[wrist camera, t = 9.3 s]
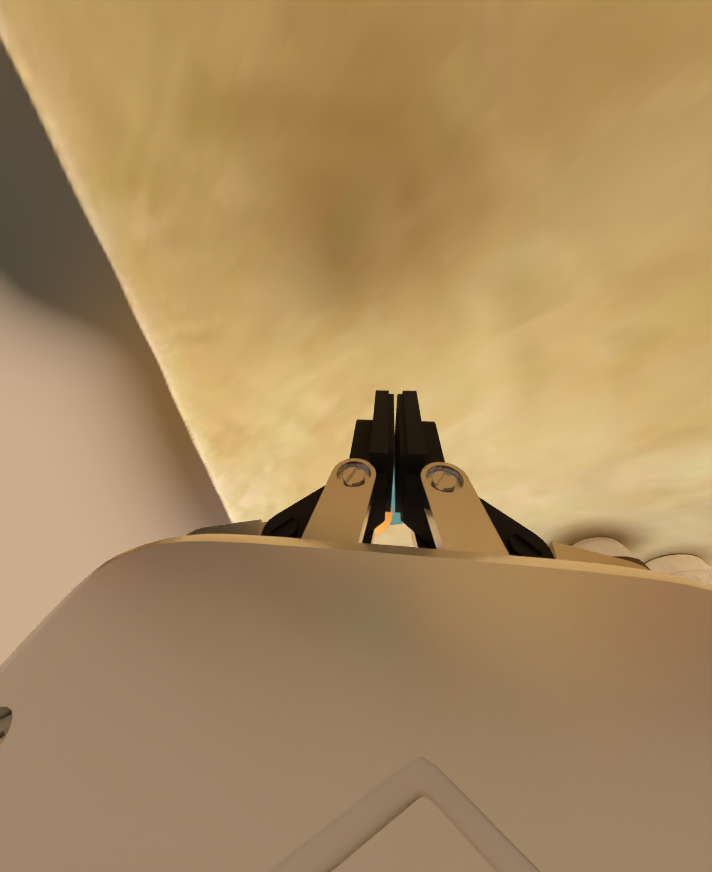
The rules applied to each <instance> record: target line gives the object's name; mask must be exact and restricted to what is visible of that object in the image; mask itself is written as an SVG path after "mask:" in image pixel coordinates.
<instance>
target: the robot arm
mask: <svg viewBox="0 0 712 872" xmlns="http://www.w3.org/2000/svg"><path fill="white" fill-rule="evenodd" d="M393 474H394V483H395V513H400V517H401V522H403V523H405V524H406V525H407V526H408V527H409V528H410V529H411V537H412V541H413V545H414V547H404V546H392V545H379V544H373V541H374V536H375V528H377V527H378V526H379V525H380V524H382V523H383V522H384V521H385V512H391V501H392V487H393ZM0 872H712V586H711V585H707V584H704V583H700V582H697V581H693V580H689V579H686V578H682V577H678V576H673V575H669V574H664V573H659V572H654V571H651V570H649V569H647V568H646V567H644V566H642V565H639V564H636V563H634V562H631V561H627V560H623V559H620V558H616V557H612V556H608V555H604V554H600V553H597V552H593V551H589V550H585V549H581V548H577V547H573V546H570V545H566V544H562V543H558V542H554V541H552V542H551V543H550V544H547V543H545V542H544V541H543V540H542V539H541V538H540V537H538V536H537V535H536V534H534V533H533V532H531V531H530V530H528V529H527V528H525V527H524V526H522V525H521V524H519V523H518V522H516V521H515V520H513V519H511V518H510V517H508V516H507V515H505V514H504V513H502V512H501V511H499V510H498V509H496V508H495V507H493V506H492V505H490V504H488V503H487V502H485V501H484V500H482V499H481V498H479V497H478V495H477V493H476V491H475V490H474V488H473V486H472V484H471V482H470V480H469V478H468V477H467V475H466V474H465V473H464V471H462V470H461V469H460V468H459V467H457V466H455V465H452V464H449V463H445V461H444V457H443V453H442V449H441V444H440V440H439V436H438V432H437V428H436V424H435V422H427V421H421V416H420V410H419V404H418V398H417V392H416V391H403V393H402V394H398V395H397V409H396V424H395V433H394V394H389V391H379V390H376V395H375V405H374V416H373V420H357V421H356V426H355V431H354V437H353V442H352V447H351V453H350V458H349V459H346V460H344V461H341V462H340V463H338V464H337V465H336V466H335V467H334V469H333V470H332V472H331V475H330V477H329V479H328V481H327V483H326V485H325V486H323V487H322V488H320V489H318V490H317V491H315V492H313V493H312V494H310V495H308V496H307V497H305V498H303V499H302V500H300V501H298V502H297V503H295V504H293V505H292V506H290V507H288V508H287V509H285V510H283V511H282V512H280V513H278V514H277V515H275V516H274V517H273V518H271V519H270V520H269V521H268V522H263V523H262V521H261V520H253V521H246V522H239V523H232V524H225V525H218V526H210V527H203V528H200V529H196V530H194V531H193V532H191V533H189V534H187V535H186V536H179V537H173V538H167V539H163V540H159V541H156V542H152V543H148V544H145V545H142V546H139V547H136V548H134V549H131V550H128V551H126V552H124V553H121V554H119V555H117V556H116V557H114V558H112V559H110V560H108V561H107V562H105V563H104V564H103V565H101V566H100V567H99V568H97V569H96V570H95V571H93V572H92V573H91V574H90V575H89V576H88V577H87V578H85V579H84V580H83V581H82V582H81V583H80V584H79V585H78V586H76V587H75V588H74V589H73V590H72V591H71V592H70V593H69V594H68V595H67V596H66V597H65V598H64V599H63V600H62V601H61V602H60V603H59V604H58V605H57V606H56V607H55V608H54V609H53V610H52V611H51V612H50V613H49V614H48V615H47V616H46V617H45V618H44V619H43V621H42V622H41V623H40V624H39V625H38V626H37V627H36V628H35V629H34V630H33V631H32V632H31V633H30V634H29V635H28V636H27V637H26V638H25V640H24V641H23V642H22V643H21V644H20V645H19V646H18V647H17V648H16V649H15V651H13V652H12V654H11V655H10V656H9V657H8V658H7V659H6V660H5V661H4V662H3V663H2V664H1V666H0Z"/></svg>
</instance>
